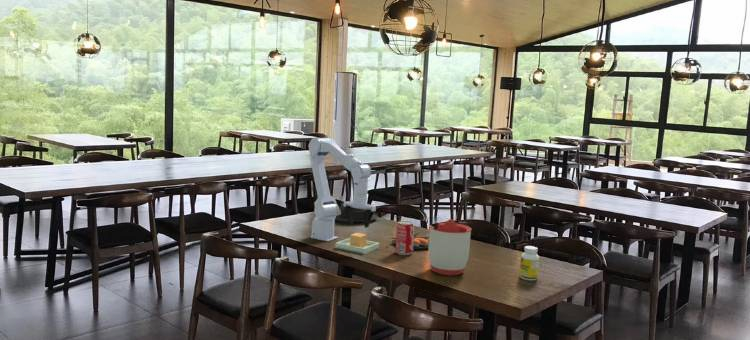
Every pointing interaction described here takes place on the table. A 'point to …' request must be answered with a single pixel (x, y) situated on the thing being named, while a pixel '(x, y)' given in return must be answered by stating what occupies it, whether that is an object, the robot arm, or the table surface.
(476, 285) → the table surface
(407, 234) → the soda can
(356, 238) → the tan block
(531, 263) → the pill bottle
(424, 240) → the sushi plate
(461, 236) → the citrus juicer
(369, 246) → the tray
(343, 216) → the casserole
